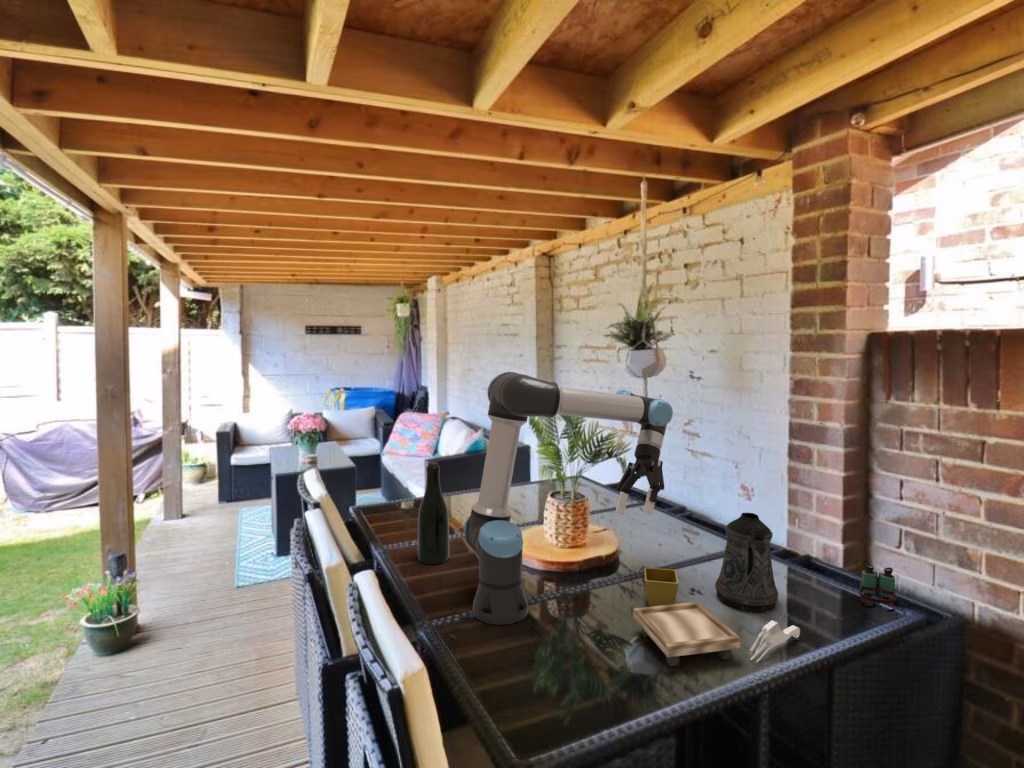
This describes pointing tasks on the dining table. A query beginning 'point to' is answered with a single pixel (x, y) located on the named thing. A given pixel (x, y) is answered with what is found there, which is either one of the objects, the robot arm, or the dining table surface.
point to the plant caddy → (686, 630)
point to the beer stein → (747, 567)
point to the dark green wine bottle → (433, 521)
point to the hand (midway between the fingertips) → (633, 513)
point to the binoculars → (884, 586)
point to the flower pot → (660, 586)
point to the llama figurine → (774, 636)
